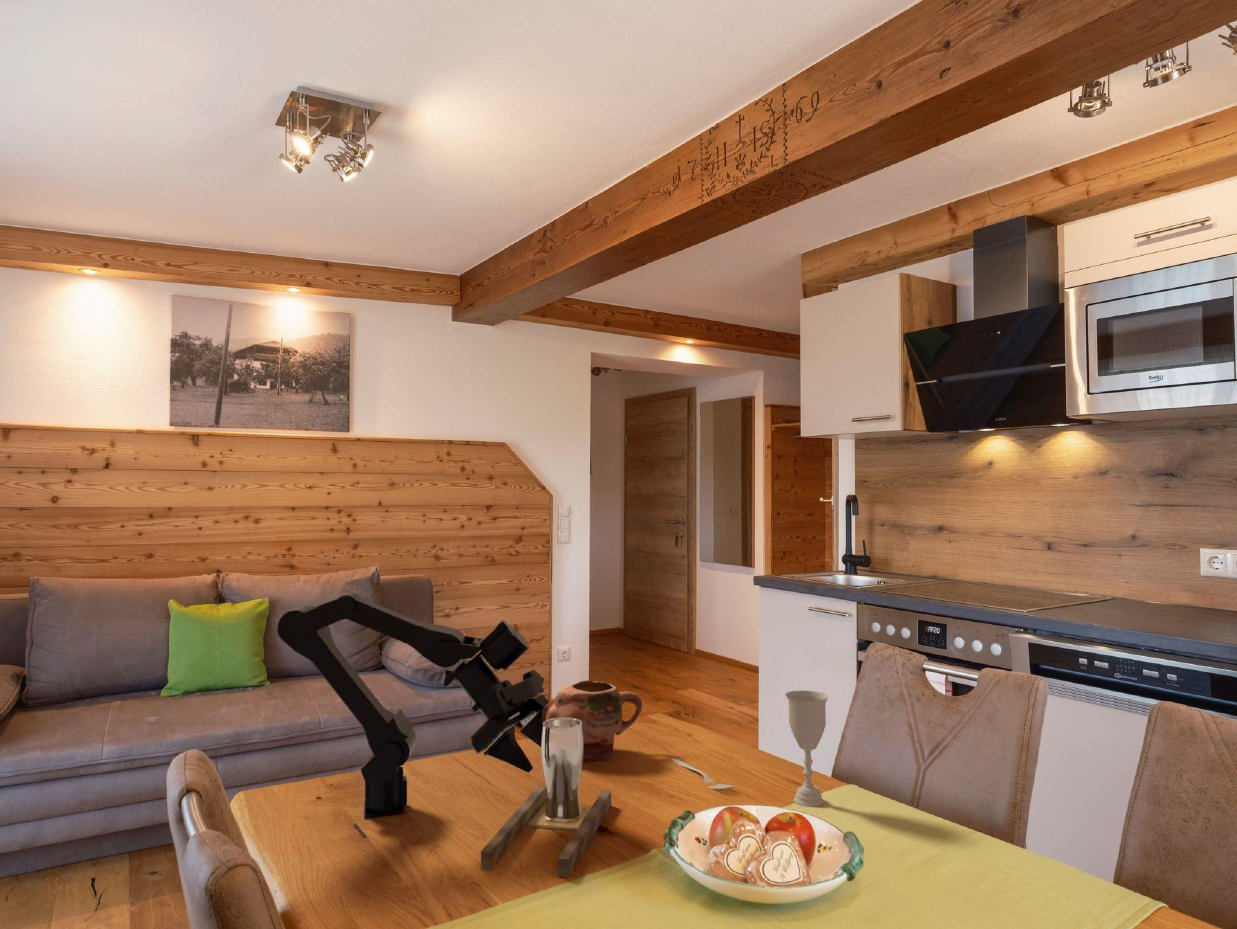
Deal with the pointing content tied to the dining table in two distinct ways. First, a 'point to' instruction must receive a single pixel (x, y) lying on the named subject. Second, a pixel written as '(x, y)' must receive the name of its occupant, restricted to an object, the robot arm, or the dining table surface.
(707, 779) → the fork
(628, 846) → the dining table surface
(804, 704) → the chalice
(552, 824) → the tan square coaster
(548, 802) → the beer glass
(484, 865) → the channel
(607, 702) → the sculpted ceramic mug
